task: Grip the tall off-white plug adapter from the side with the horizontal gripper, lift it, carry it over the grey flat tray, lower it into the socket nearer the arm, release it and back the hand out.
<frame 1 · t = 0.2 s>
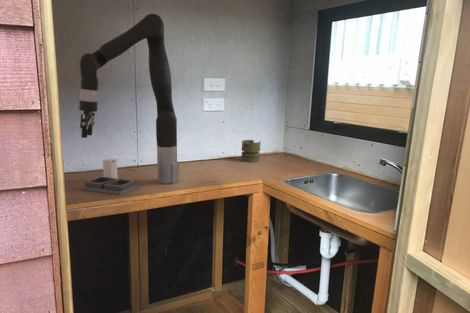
hand: (86, 136, 165), 22 cm above the counter, tool pointing down, fingers open, 8 cm apart
grey flat tray: (101, 187, 163), on the counter
plug adapter: (110, 179, 175), on the counter
piston: (250, 160, 226), on the counter
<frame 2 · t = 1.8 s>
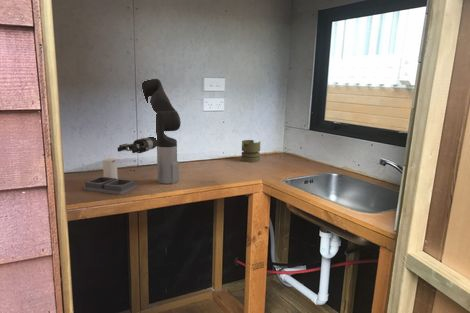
hand: (125, 150, 185), 12 cm above the counter, tool horizontal, fingers open, 8 cm apart
nothing on the counter moved.
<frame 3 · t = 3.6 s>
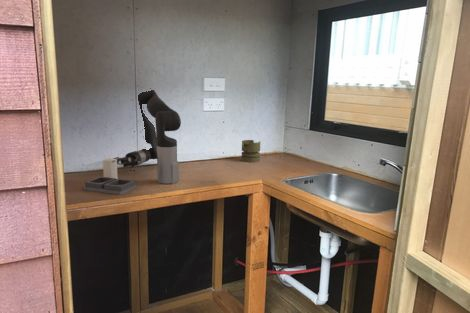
hand: (116, 164, 178), 7 cm above the counter, tool horizontal, fingers open, 8 cm apart
nothing on the counter moved.
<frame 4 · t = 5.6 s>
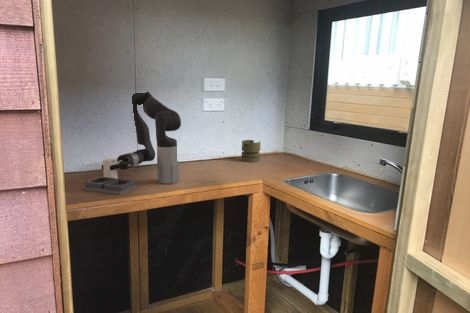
hand: (106, 167, 171), 7 cm above the counter, tool horizontal, fingers closed on plug adapter, 4 cm apart
plug adapter: (110, 179, 175), on the counter, touching gripper
everything else where it was.
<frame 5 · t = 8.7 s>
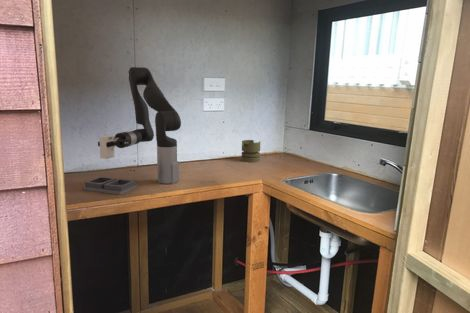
hand: (102, 144, 166), 18 cm above the counter, tool horizontal, fingers closed on plug adapter, 4 cm apart
plug adapter: (107, 157, 170), point 11 cm above the counter, touching gripper
everything else where it was.
when the fingers open (9 cm above the counter, at t = 12.0 s): plug adapter drops 1 cm, resting on grey flat tray.
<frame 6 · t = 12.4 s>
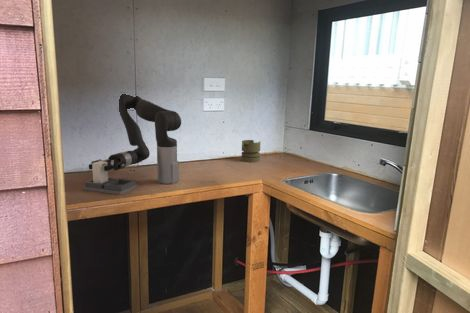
hand: (97, 167, 159), 9 cm above the counter, tool horizontal, fingers open, 7 cm apart
plug adapter: (101, 184, 163), point 1 cm above the counter, touching grey flat tray
everything else where it was.
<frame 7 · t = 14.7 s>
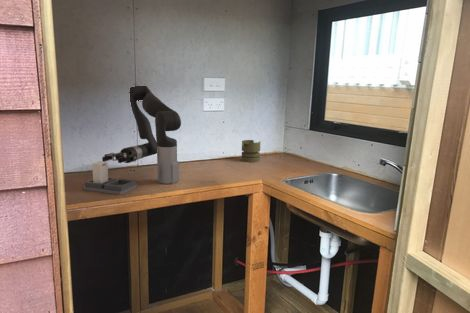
hand: (110, 160, 168), 11 cm above the counter, tool horizontal, fingers open, 8 cm apart
nothing on the counter moved.
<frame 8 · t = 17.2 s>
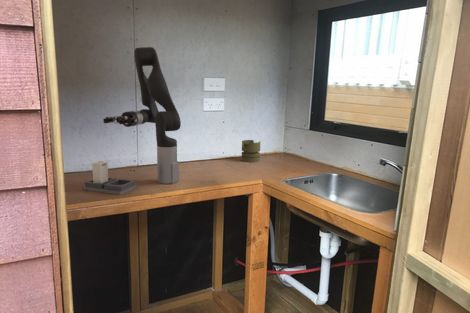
hand: (111, 121, 169), 28 cm above the counter, tool horizontal, fingers open, 8 cm apart
nothing on the counter moved.
at the end: plug adapter 0.1 cm off-centre on the grey flat tray, point 1.2 cm above the grey flat tray's base; plug adapter tilted 0°; the gripper is holding nothing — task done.
